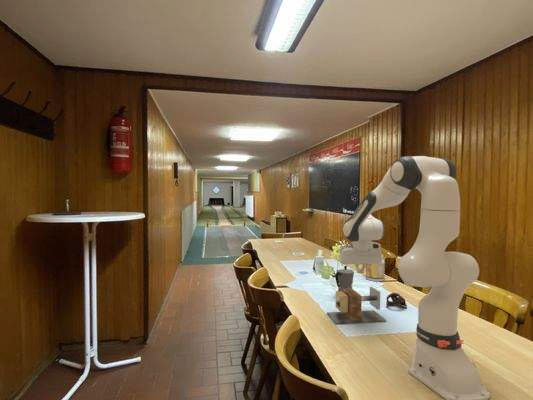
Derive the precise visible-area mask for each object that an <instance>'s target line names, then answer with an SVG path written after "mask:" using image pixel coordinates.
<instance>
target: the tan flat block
mask: <svg viewBox="0 0 533 400" xmlns="http://www.w3.org/2000/svg"><path fill="white" fill-rule="evenodd" d="M336 297H339V298H340V302H336V301H335V308H336V309H337V310H338V312H341V313H342V312H348V296H347V295H346V294H345V293H343V292H342V291H338V290H335V298H336Z"/></svg>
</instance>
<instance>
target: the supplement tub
mask: <svg viewBox="0 0 533 400" xmlns="http://www.w3.org/2000/svg"><path fill="white" fill-rule="evenodd" d="M385 263H386V261H385V259H384V254H382V262H381V263H380V264H367V266H366V268H365V278H366V280H368V281H370V282H383V281H384V280H385V274H386V273H385V270H386V267H385V265H386V264H385Z"/></svg>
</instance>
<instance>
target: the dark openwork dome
mask: <svg viewBox="0 0 533 400" xmlns="http://www.w3.org/2000/svg"><path fill="white" fill-rule="evenodd" d="M390 298H391V300H392V301H391V300H389V299H390ZM385 299H386V307H387V308H389V307H393V308H394V307H397V306H399V307H401V306H403V307H405V309H406V310H407V309H408V304H407V303H406V300H405V297H404V296H402V295H400V293H397V292H392V293H389V294H388V295H387V296H386V298H385Z"/></svg>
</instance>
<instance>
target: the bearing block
mask: <svg viewBox="0 0 533 400" xmlns="http://www.w3.org/2000/svg"><path fill="white" fill-rule="evenodd" d="M343 293H345V294H346V295H347V296H348V312H342V313H341V312H340V311H332V312H331V311H328V312H326V315H327V316H328V317H329V319H330V320H331V321H332V322H333V324H334V325H352V324H354V325H355V324H372V323H387V319H385V318H384V317H383V316H382V315H380V314H379V313H378V312H376V311H375V310H374V309H371V310H362V302H363V301H362V296H363V295H361V294H360V293H359V292H357V291H356V290H354V289H353V288H352V289H343Z"/></svg>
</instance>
